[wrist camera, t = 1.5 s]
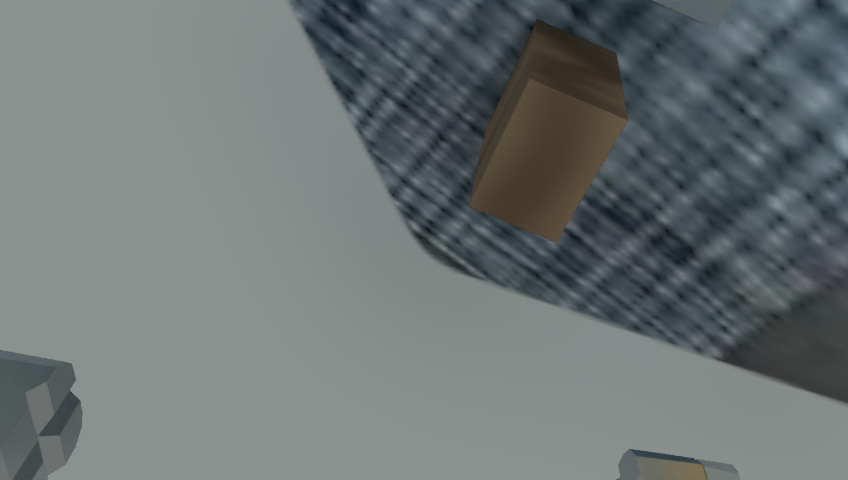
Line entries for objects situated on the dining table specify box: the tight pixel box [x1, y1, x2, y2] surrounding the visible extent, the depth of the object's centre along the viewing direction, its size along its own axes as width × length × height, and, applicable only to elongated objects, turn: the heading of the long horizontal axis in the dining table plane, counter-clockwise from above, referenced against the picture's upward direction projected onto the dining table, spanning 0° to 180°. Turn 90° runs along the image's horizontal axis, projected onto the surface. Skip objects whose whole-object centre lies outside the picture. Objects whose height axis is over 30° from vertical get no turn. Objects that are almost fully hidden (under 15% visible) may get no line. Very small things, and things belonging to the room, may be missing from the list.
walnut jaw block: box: [469, 19, 628, 243], centre depth 32 cm, size 4×6×8 cm, turn 160°
